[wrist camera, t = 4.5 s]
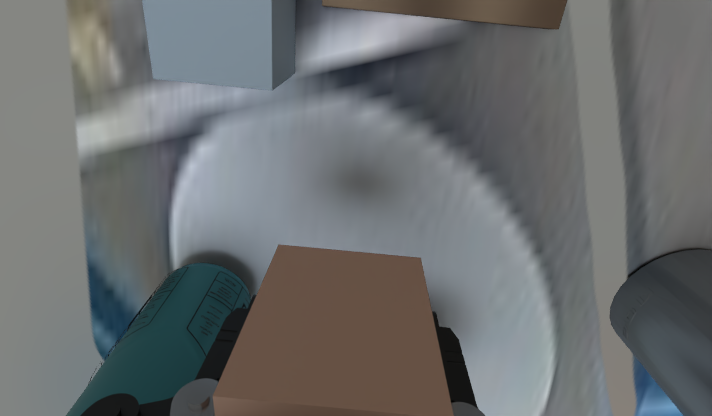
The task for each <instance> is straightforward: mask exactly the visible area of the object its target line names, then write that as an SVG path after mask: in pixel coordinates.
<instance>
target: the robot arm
mask: <svg viewBox="0 0 712 416" xmlns="http://www.w3.org/2000/svg"><path fill="white" fill-rule="evenodd" d="M256 296H257V295H256V294H255V295H254V296H253V297H252V299H251V302H250V304H249V306H248V308H247V309H246V308H236V309H235V310H234V311H233V312H232V313H231V314H229V315H228V316H227V317H226V319H225V321H224V322H223V324H222V326H221V328H220V332H218V334H217V336H216V338H215V341H214V342H213V344H212V346H211V348H210V350H209V352H208V354H207V356H206V358H205V360H204V362H203V364H202V366H201V368H200V370H199V372H198V374H197V376H196V378H195V379H194V381H192V382H190V383H188V384H186V385H185V386H183V387H182V388H181V389H180V390H179V391H178V392H177V393H176V395H175V396H174V397H171V398H169V399H165V400H161V401H155V402H150V403H145V404H140V405H139V403H138V401H137V399H136V398H135V397H134V396H132V395H130V394H126V393H118V394H112V395H109V396H106V397H104V398H102V399H100V400H98V401H96V402H95V403H94V404H92V405H91V406H90V407H89V408H87V409H86V410H85V411H84V412H83V413H82V414H81V415H80V416H215V412H214V404H213V394H214V392H215V390H216V387H217V385H218V383H219V380H220V378H221V376H222V374H223V371H224V369H225V367H226V364H227V362H228V360H229V357H230V355H231V353H232V351H233V348H234V346H235V344H236V341H237V339H238V337H239V335H240V332H241V330H242V328H243V325H244V323H245V321H246V318H247V316H248V314H249V312H250V309H251V307H252V305H253V302H254V300H255V298H256ZM432 314H433V319H434V324H435V329H436V333H437V338H438V343H439V348H440V353H441V357H442V362H443V367H444V372H445V376H446V381H447V386H448V391H449V396H450V400H451V405H452V410H453V415H454V416H485V415H484V414H483V413H482V412H481V411H480V410H479V409H478V407H477V404H476V401H475V397H474V394H473V390H472V386H471V383H470V379H469V376H468V372H467V368H466V365H465V361H464V357H463V355H462V350H461V347H460V343H459V339H458V338H457V337H456V336H455V334H454V333H453V332H452V330H451V329H450V328H446V327H439V324H438V320H437V315H436V312H434V311H432ZM610 320H611V325H612V327H613V329H614V330H615V332H616V333H617V334H618V336H619V337H620V338H621V339H622V341H623V342H624V343H625V344H626V346H627V347H628V348H629V349H630V350H631V352H632V353H633V354H634V355H635V357H636V358H637V359H638V360H639V361H640V363H641V364H642V365H643V366H644V368H645V369H646V370H647V371H648V372H649V374H650V375H651V376H652V378H653V379H654V380H655V381H656V383H657V384H658V385H659V386H660V387H661V389H662V390H663V391H664V392H665V394H666V395H667V396H668V397H669V398H670V400H671V401H672V402H673V403H674V404H675V406H676V407H677V408H678V409H679V411H680V412H681V413H682V414H683V415H684V416H712V250H702V249H698V250H685V251H681V252H677V253H673V254H669V255H667V256H664V257H661V258H659V259H656V260H654V261H653V262H651V263H649V264H647V265H645V266H644V267H642V268H641V269H639V270H638V271H637V272H635V273H634V274H633V275H632V276H630V277H629V278H628V279H627V281H626V282H625V283H624V284H623V285H622V286H621V287H620V289H619V290H618V292H617V293H616V295H615V296H614V299H613V302H612V305H611V307H610Z"/></svg>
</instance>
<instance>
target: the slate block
mask: <svg viewBox="0 0 712 416" xmlns="http://www.w3.org/2000/svg"><path fill="white" fill-rule="evenodd" d="M142 2H143V9H144V16H145V23H146V30H147V37H148V44H149V51H150V58H151V65H152V72H153V79H159V80H169V81H179V82H190V83H200V84H210V85H220V86H231V87H241V88H251V89H262V90H274V89H275V88H276V87H277V86H279V85H280V84H281V83H283V82H284V81H285V80H287V79H288V78H289V77H291V76H292V75H293V74H295V27H296V0H142Z"/></svg>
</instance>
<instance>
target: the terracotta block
mask: <svg viewBox="0 0 712 416" xmlns="http://www.w3.org/2000/svg"><path fill="white" fill-rule="evenodd" d="M213 404H214V412H215V416H454V415H453V410H452V405H451V400H450V396H449V391H448V386H447V381H446V376H445V372H444V367H443V362H442V357H441V353H440V348H439V343H438V338H437V333H436V329H435V324H434V319H433V314H432V310H431V305H430V300H429V295H428V291H427V286H426V281H425V276H424V271H423V267H422V262H421V258H417V257H406V256H395V255H385V254H374V253H363V252H352V251H342V250H331V249H320V248H309V247H299V246H288V245H278V247H277V250H276V252H275V254H274V256H273V259H272V261H271V263H270V266H269V268H268V270H267V273H266V275H265V277H264V279H263V282H262V284H261V286H260V289H259V291H258V293H257V296H256V298H255V300H254V302H253V305H252V307H251V309H250V312H249V314H248V316H247V318H246V321H245V323H244V325H243V328H242V330H241V332H240V335H239V337H238V339H237V341H236V344H235V346H234V348H233V351H232V353H231V355H230V357H229V360H228V362H227V364H226V367H225V369H224V371H223V374H222V376H221V378H220V380H219V383H218V385H217V387H216V390H215V392H214V394H213Z"/></svg>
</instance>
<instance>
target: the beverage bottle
mask: <svg viewBox="0 0 712 416" xmlns="http://www.w3.org/2000/svg"><path fill="white" fill-rule="evenodd" d="M171 273H172V272H171ZM169 274H170V273H169ZM163 280H164V279H163ZM161 282H162V281H161ZM162 283H163V282H162ZM160 284H161V283H160ZM157 288H158V287H157ZM157 288H156V289H157ZM154 292H156V290H155V291H154ZM150 298H152V295H151V296H150ZM150 298H149V299H148V300H147V302H148V301H150V302H149V303H147V302H146V303H145V304H144V306H145V305H146V304H147V306H146V307H145V308H144V310H143V311H142V312H141V310H142V309H143V307H144V306H143V307H142V308H141V310H140V311H139V312H138V314H139V316H138V318H137V319H136V320H135V321H134V319H135V318H136V317H137V315H138V314H137V315H136V316H135V318H134V319H133V320H132V322H133V321H134V323H133V324H132V326H131V327H130V328H129V326H130V325H131V323H132V322H131V323H130V324H129V326H128V329H129V330H128V329H127V328H126V329H127V332H126V334H125V335H124V337H123V338H122V339H121V341H120V342H119V341H118V340H117V341H118V343H117V342H116V343H117V344H118V345H117V344H116V345H117V346H116V345H115V344H114V345H115V346H114V347H115V349H114V350H113V348H111V349H112V350H111V351H112V353H111V354H110V355H109V354H107V355H108V356H109V357H108V358H107V359H106V357H105V359H106V361H105V360H104V361H105V362H104V363H103V365H102V366H101V368H100V369H99V370H98V372H97V373H96V375H95V376H94V378H93V380H92V381H91V382H90V384H88V386H87V388H86V389H85V390H84V392H83V393H82V395H81V396H80V397H79V399H78V400H77V401H76V403H75V404H74V405H73V407H72V408H71V409H70V411H69V412H68V413H67V415H66V416H80V415H81V414H82V413H83V412H84V411H85V410H86V409H87V408H89V407H90V406H91V405H92V404H94V403H95V402H96V401H98V400H100V399H102V398H104V397H106V396H109V395H112V394H118V393H126V394H130V395H132V396H134V397H135V398H136V399H137V401H138V403H139V405H140V404H145V403H150V402H155V401H161V400H165V399H169V398H171V397H174V396H175V395H176V393H177V392H178V391H179V390H180V389H181V388H182V387H183V386H185V385H186V384H188V383H190V382H192V381H194V379H195V378H196V376H197V374H198V372H199V370H200V368H201V366H202V364H203V362H204V360H205V358H206V356H207V354H208V352H209V350H210V348H211V346H212V344H213V342H214V341H215V338H216V336H217V334H218V332H220V328H221V326H222V324H223V322H224V321H225V319H226V317H227V316H228V315H229V314H231V313H232V312H233V311H234V310H235V309H236V308H246V309H247V308H248V306H249V304H250V302H251V299H250V294H249V291H248V289H247V287H246V285H245V284H244V283H243V281H242V280H241V279H240V278H239V277H238V276H236V275H235V274H234V273H232V272H231V271H229V270H227V269H225V268H223V267H221V266H218V265H214V264H209V263H194V264H189V265H186V266H184V267H182V268H179V269H177V271H176V270H175V272H173V273H172V274H171V275H169V277H168V278H166V280H165V281H164V283H163V284H161V287H160V288H159V290H157V292H156V294H155V293H154V296H153V298H152V299H150ZM140 312H141V314H140ZM123 333H124V332H123ZM120 337H121V336H120ZM109 352H110V351H109ZM91 378H92V377H91Z"/></svg>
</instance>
